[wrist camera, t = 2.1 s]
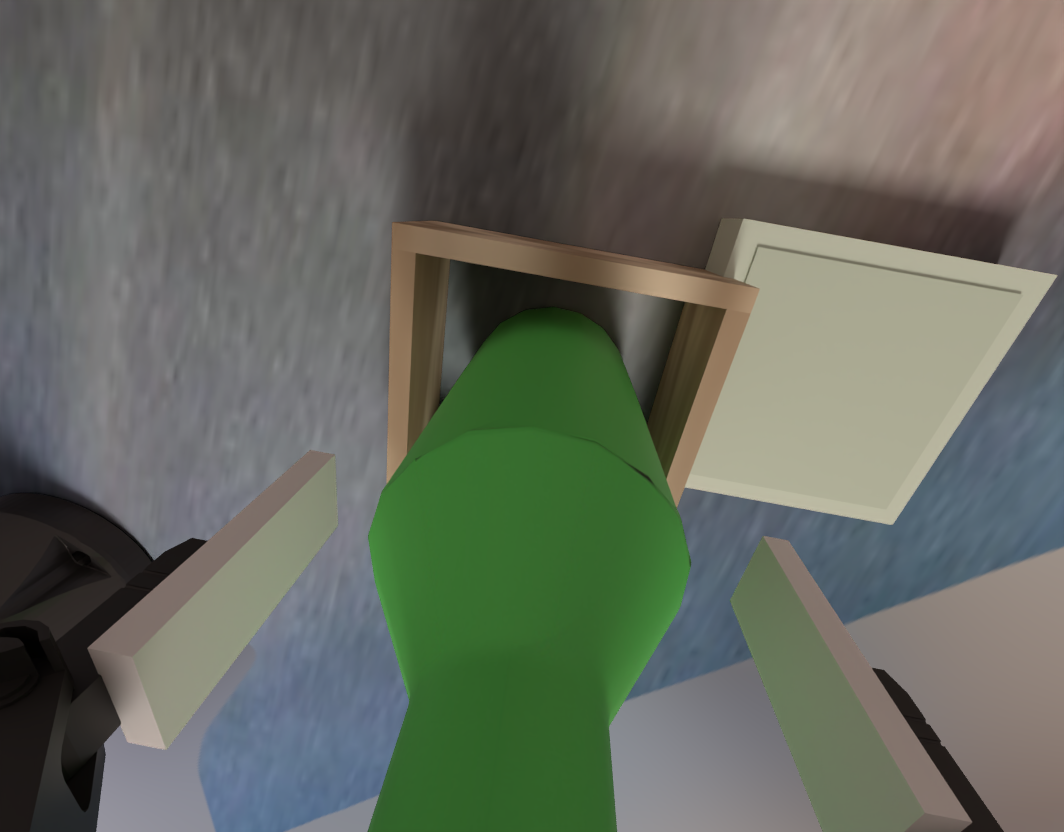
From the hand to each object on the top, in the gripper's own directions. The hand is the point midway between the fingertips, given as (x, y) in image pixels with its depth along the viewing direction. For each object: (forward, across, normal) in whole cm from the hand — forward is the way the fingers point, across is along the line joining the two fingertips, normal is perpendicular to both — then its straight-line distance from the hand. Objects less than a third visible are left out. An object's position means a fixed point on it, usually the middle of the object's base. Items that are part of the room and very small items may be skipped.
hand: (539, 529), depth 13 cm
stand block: (+14, +14, +3) cm, 20 cm away
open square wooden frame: (+14, 0, 0) cm, 14 cm away
